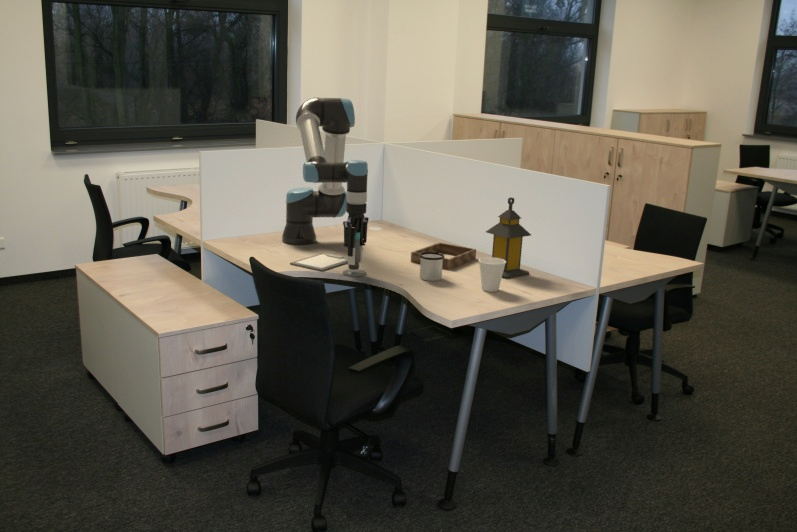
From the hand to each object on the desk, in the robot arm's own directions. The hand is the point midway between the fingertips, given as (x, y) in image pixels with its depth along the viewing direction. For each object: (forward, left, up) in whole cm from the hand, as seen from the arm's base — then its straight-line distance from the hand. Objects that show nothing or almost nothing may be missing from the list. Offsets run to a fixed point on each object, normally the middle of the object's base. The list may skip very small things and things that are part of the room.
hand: (354, 263), depth 284 cm
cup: (-15, +50, -4) cm, 52 cm away
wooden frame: (-41, +16, -4) cm, 44 cm away
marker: (0, 0, -2) cm, 2 cm away
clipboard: (-4, -19, -4) cm, 20 cm away
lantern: (-41, +44, -4) cm, 60 cm away
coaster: (0, 0, -4) cm, 4 cm away
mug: (-15, +26, -4) cm, 30 cm away
